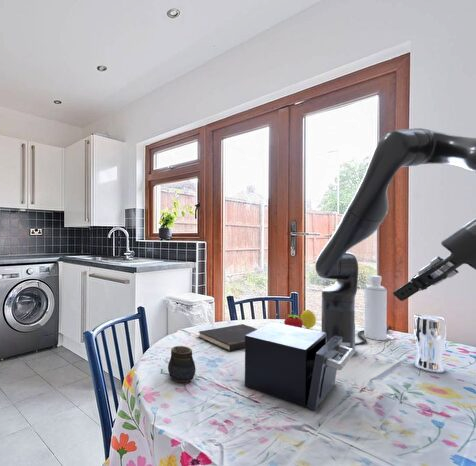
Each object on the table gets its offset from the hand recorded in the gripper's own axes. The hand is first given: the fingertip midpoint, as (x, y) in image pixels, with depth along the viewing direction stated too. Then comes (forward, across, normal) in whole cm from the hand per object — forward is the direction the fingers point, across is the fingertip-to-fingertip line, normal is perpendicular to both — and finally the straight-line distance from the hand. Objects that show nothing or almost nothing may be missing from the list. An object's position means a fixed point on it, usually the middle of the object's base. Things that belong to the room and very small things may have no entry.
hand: (397, 296), depth 66 cm
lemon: (+41, -58, -4) cm, 71 cm away
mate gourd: (+48, +18, -12) cm, 53 cm away
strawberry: (+42, -43, -5) cm, 60 cm away
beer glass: (+16, -41, +21) cm, 49 cm away
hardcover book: (+52, -24, -15) cm, 59 cm away
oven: (+34, 0, +3) cm, 34 cm away
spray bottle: (+26, -65, +10) cm, 71 cm away
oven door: (+27, 0, +10) cm, 29 cm away
